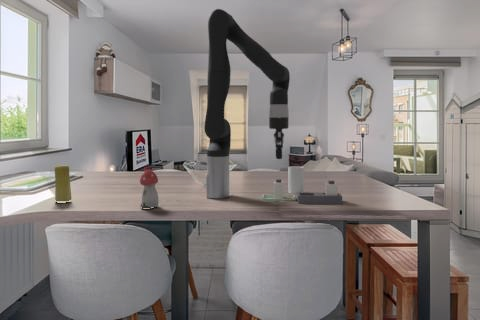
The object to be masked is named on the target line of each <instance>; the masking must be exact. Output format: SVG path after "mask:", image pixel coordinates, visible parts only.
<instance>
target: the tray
mask: <svg viewBox="0 0 480 320" xmlns="http://www.w3.org/2000/svg"><path fill="white" fill-rule="evenodd" d="M261 196H262V197H261V202H263V203H264V202H266V203H267V202H268V203H270V202H272V203H277V202H279V201H297V197H296V196H295V194H284V197H293V198H284V199H274V194H262V195H261Z"/></svg>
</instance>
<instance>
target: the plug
mask: <svg viewBox="0 0 480 320" xmlns="http://www.w3.org/2000/svg"><path fill="white" fill-rule="evenodd" d="M273 195H274V199H285V196H284V195H285V182H284V181H282V179H280V178H277V179H275V180H274V181H273Z"/></svg>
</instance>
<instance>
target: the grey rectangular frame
mask: <svg viewBox="0 0 480 320" xmlns="http://www.w3.org/2000/svg"><path fill="white" fill-rule="evenodd" d="M296 201H297V204H298V205H300V204H303V205H305V204H306V205H307V204H308V205H321V204H322V205H343V195H342V194H341V193H339V192H338V194H337V196H325V192H303V193H301V192H297V194H296Z"/></svg>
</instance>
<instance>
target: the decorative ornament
mask: <svg viewBox="0 0 480 320" xmlns="http://www.w3.org/2000/svg"><path fill="white" fill-rule="evenodd" d="M143 171H144V172H143V173H142V174H141V176H140V179H139V184H140V185H142V186H143V190H142V194H141V195H142V196H141V203H140V208H141V207H142V208H151V207H158V206H159V200H160V199H159V193H158V191H157V189H156V184H158V183H159V179H158V176H157V174H156V173H155V172H154V171H153V170H152V169H151V167H150V166H145V167H144V168H143Z"/></svg>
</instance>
